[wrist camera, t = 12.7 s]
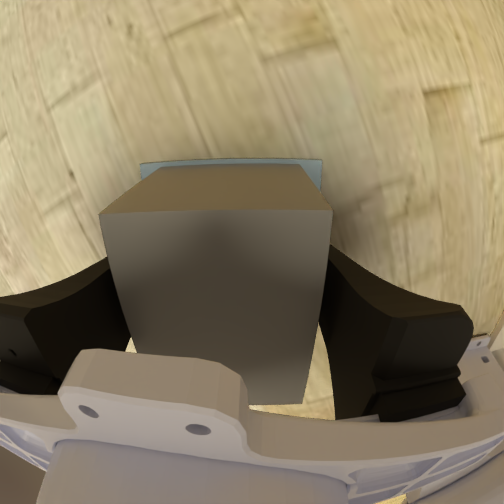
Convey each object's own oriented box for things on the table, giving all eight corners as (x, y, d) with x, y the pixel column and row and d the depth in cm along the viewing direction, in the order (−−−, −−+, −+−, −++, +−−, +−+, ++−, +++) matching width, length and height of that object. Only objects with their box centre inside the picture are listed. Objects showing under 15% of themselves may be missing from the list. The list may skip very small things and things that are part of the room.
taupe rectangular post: (289, 311, 16) (302, 403, 11) (181, 310, 16) (155, 398, 11) (298, 163, 12) (333, 210, 7) (162, 165, 12) (98, 214, 7)
